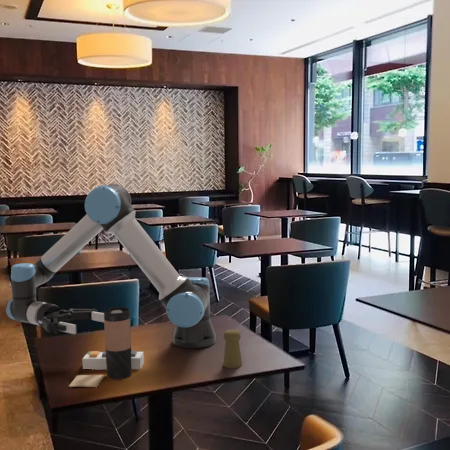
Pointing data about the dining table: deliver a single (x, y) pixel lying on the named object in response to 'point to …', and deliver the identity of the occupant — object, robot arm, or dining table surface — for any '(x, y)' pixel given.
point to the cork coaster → (86, 381)
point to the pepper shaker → (232, 349)
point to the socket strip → (99, 360)
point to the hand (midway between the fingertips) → (91, 323)
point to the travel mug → (117, 342)
